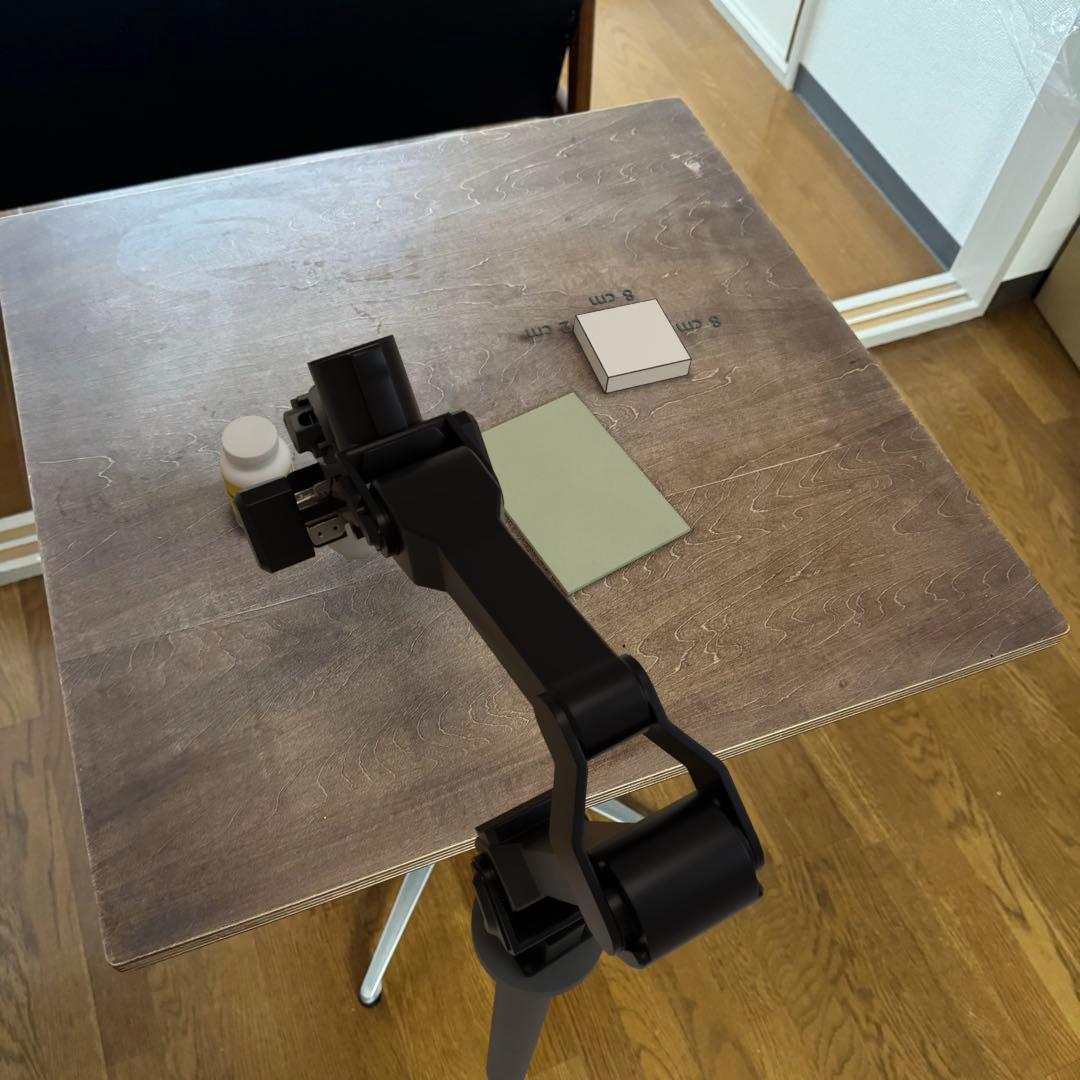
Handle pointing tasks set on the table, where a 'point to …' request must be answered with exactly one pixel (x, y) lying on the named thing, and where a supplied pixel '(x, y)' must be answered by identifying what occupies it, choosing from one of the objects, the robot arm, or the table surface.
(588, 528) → the placemat
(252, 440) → the pill bottle
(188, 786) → the table surface
